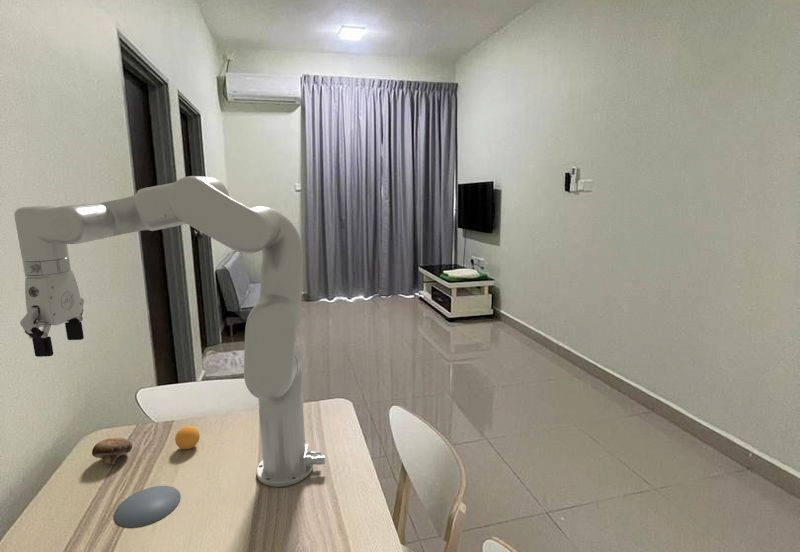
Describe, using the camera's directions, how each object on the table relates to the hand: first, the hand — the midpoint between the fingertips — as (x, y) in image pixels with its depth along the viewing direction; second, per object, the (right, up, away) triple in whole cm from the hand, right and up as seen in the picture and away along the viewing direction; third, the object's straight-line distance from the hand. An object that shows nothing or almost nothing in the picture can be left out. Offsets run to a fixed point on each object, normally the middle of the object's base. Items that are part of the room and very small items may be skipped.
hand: (61, 347), depth 96 cm
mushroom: (+3, -29, +13) cm, 32 cm away
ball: (+19, -25, +17) cm, 36 cm away
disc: (+20, -32, -3) cm, 38 cm away
